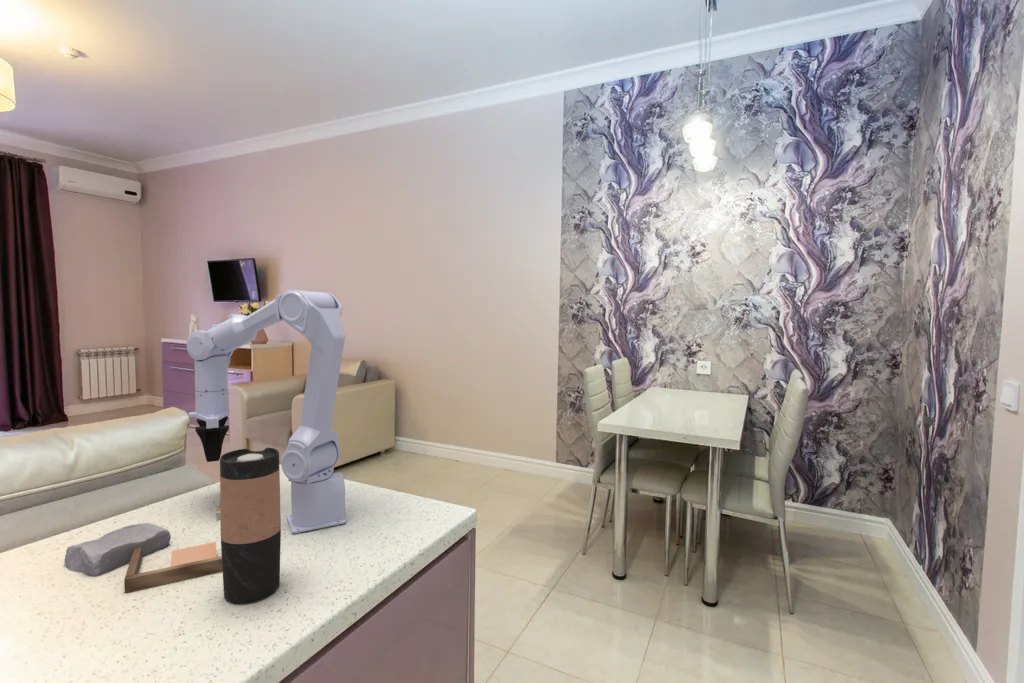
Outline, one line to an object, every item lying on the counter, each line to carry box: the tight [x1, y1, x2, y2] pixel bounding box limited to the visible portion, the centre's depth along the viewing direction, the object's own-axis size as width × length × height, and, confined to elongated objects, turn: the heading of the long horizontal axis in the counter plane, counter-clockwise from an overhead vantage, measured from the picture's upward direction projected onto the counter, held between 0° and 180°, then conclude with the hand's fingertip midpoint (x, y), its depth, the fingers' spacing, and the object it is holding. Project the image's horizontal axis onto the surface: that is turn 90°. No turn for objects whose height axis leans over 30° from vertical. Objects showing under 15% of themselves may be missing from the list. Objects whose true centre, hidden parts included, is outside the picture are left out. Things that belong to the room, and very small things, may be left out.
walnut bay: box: [123, 547, 223, 594], centre depth 79 cm, size 16×10×2 cm, turn 121°
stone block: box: [64, 522, 172, 577], centre depth 81 cm, size 12×5×10 cm
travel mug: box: [219, 447, 282, 605], centre depth 71 cm, size 8×8×20 cm
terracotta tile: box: [169, 541, 217, 567], centre depth 79 cm, size 6×6×2 cm
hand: (213, 456), depth 101 cm, fingers open, 7 cm apart
